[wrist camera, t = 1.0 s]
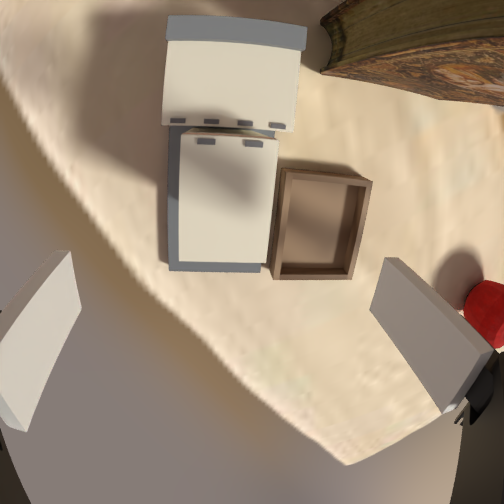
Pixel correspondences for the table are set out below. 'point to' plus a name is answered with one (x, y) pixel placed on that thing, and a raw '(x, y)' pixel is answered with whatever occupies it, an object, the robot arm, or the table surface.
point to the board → (173, 210)
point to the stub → (226, 195)
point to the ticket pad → (231, 72)
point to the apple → (487, 311)
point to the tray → (318, 225)
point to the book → (421, 46)
